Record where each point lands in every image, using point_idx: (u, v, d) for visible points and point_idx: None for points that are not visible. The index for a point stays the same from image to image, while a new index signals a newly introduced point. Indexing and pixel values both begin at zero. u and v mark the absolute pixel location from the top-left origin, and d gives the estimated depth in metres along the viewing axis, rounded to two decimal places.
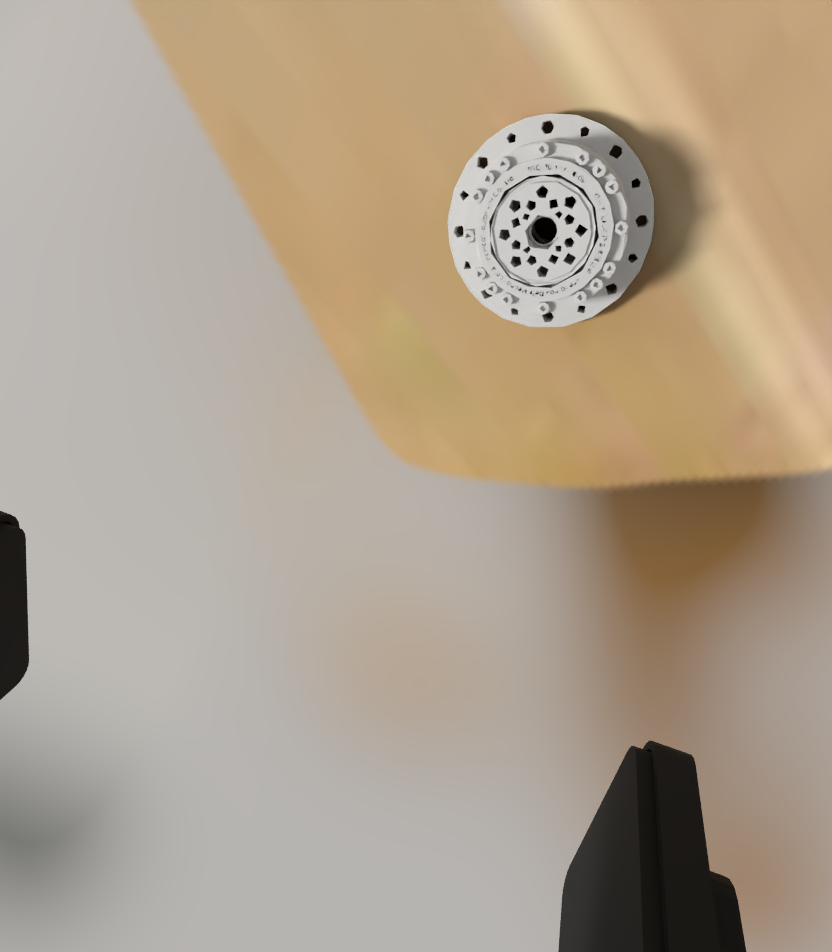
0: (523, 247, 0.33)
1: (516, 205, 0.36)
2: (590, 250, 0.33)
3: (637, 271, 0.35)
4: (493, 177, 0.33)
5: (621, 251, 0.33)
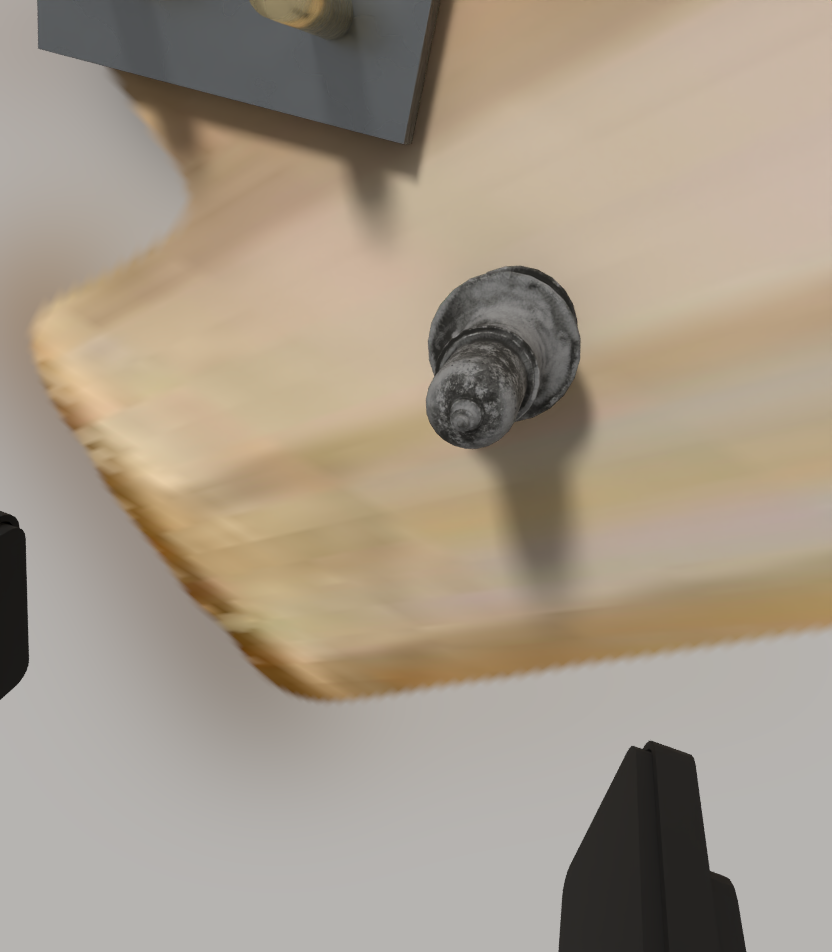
0: None
1: None
2: None
3: None
4: None
5: None
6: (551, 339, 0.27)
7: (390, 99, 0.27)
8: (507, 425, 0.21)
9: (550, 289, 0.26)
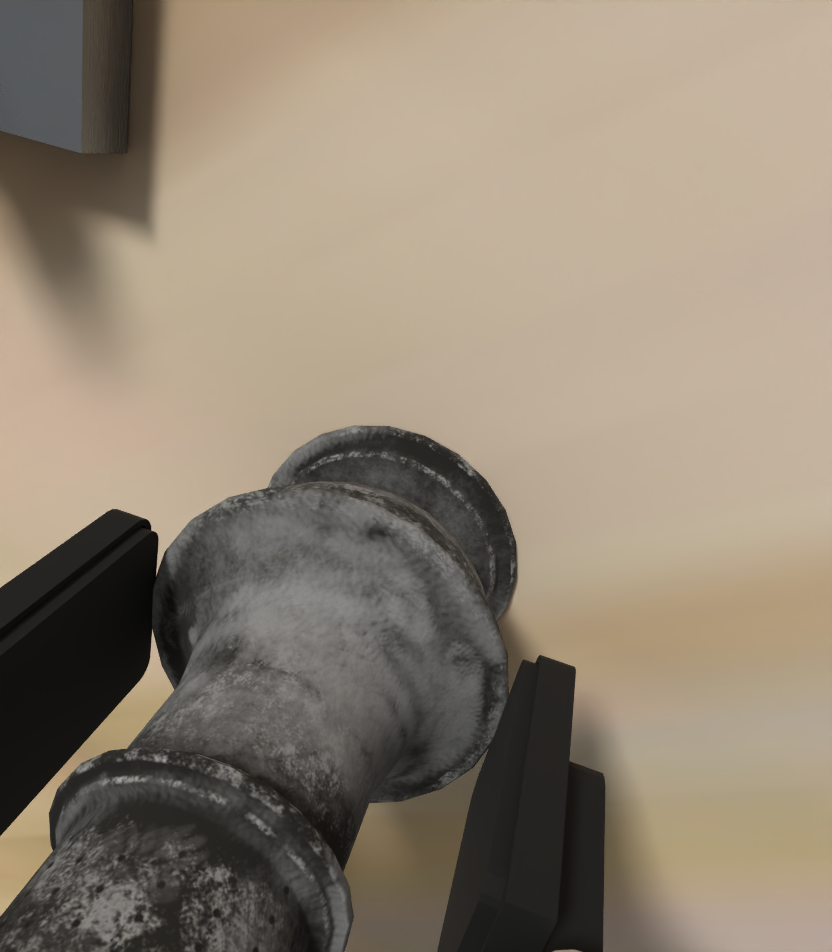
0: None
1: None
2: None
3: None
4: None
5: None
6: (428, 668, 0.10)
7: (33, 41, 0.11)
8: None
9: (423, 542, 0.10)
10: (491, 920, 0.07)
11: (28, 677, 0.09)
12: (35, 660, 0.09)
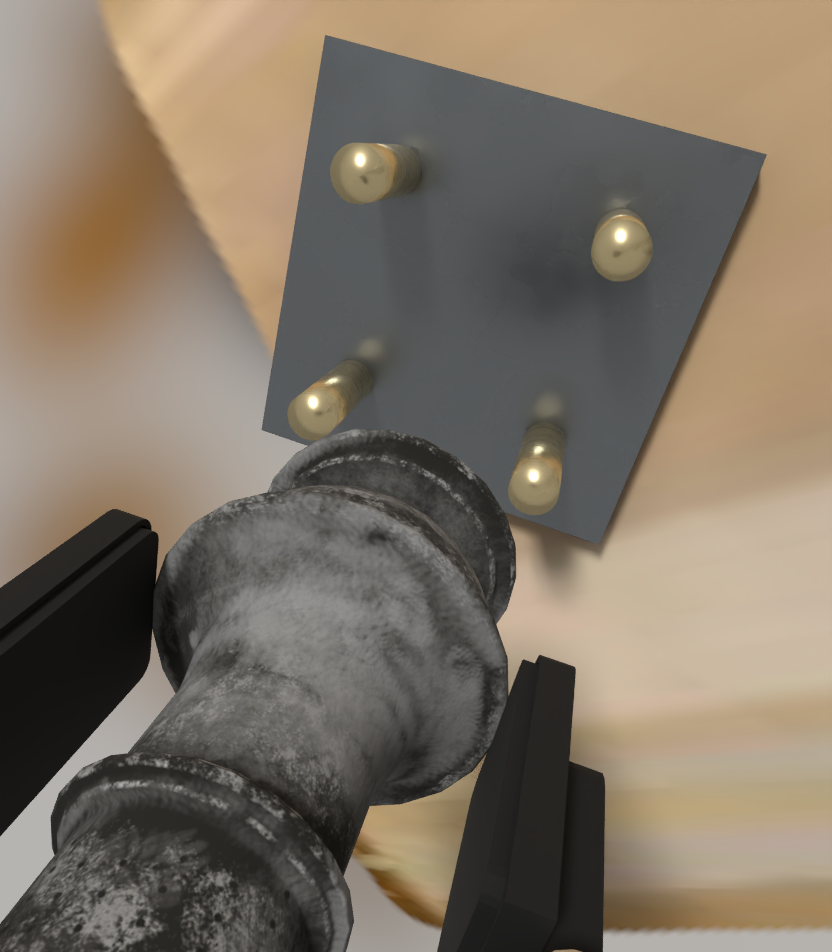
0: None
1: None
2: None
3: None
4: None
5: None
6: (428, 671, 0.10)
7: (591, 511, 0.31)
8: None
9: (423, 546, 0.10)
10: (491, 920, 0.07)
11: (28, 677, 0.09)
12: (35, 660, 0.09)
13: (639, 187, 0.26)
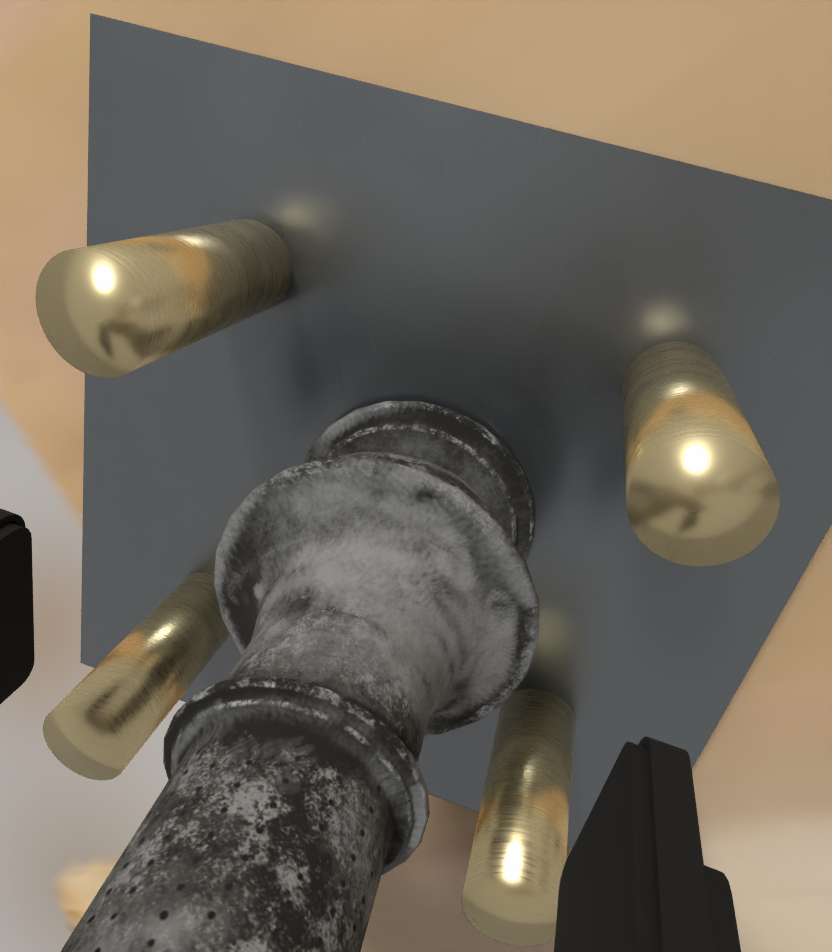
0: None
1: None
2: None
3: None
4: None
5: None
6: (471, 612, 0.12)
7: None
8: None
9: (466, 502, 0.11)
10: None
11: None
12: None
13: (714, 302, 0.13)
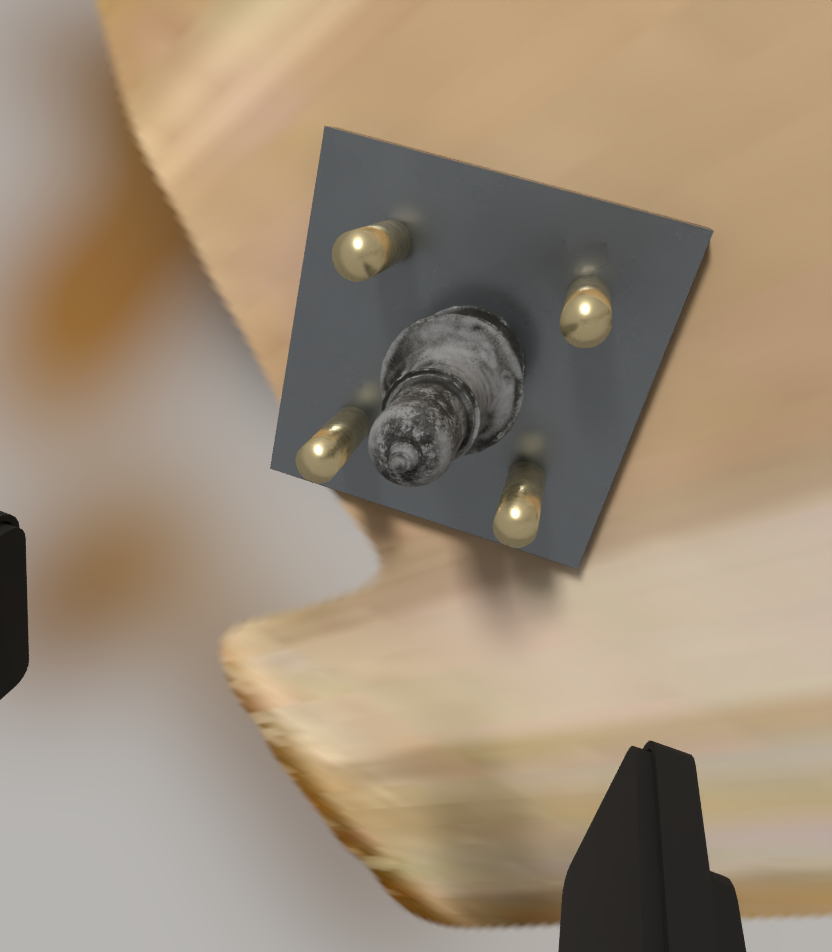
0: None
1: None
2: None
3: None
4: None
5: None
6: (495, 378, 0.28)
7: (570, 539, 0.34)
8: (444, 465, 0.23)
9: (493, 330, 0.28)
10: None
11: None
12: None
13: (604, 257, 0.29)
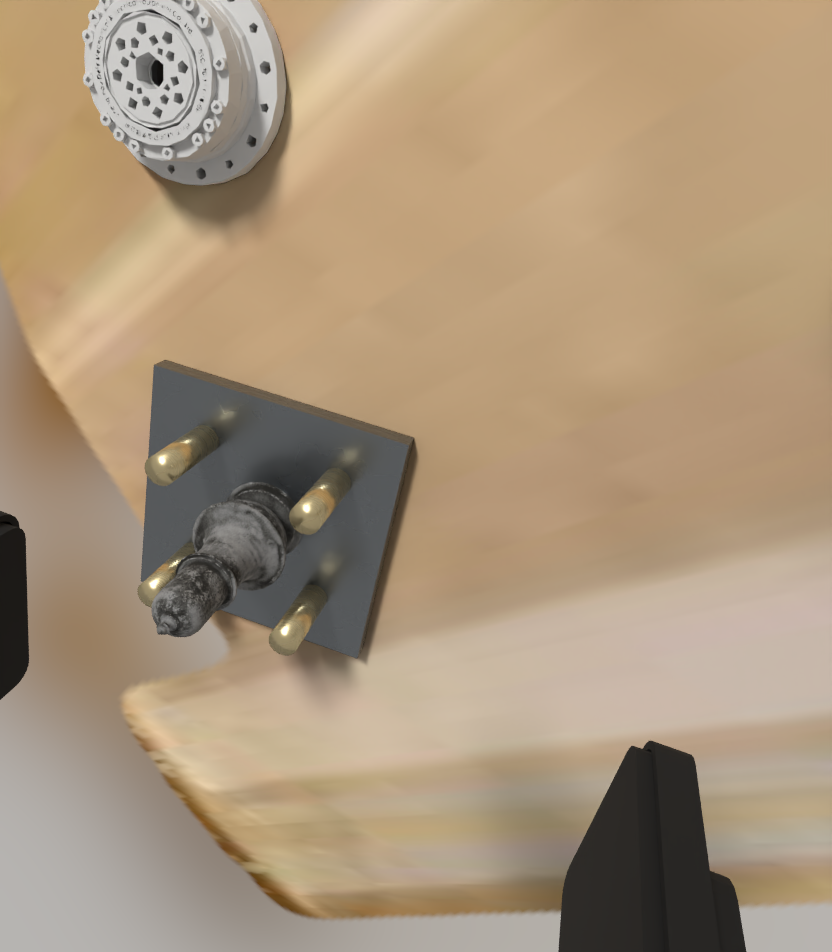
0: (134, 51, 0.33)
1: None
2: (144, 124, 0.34)
3: (161, 175, 0.38)
4: (190, 9, 0.32)
5: (152, 156, 0.35)
6: (262, 545, 0.41)
7: (349, 638, 0.47)
8: (197, 626, 0.36)
9: (259, 514, 0.41)
10: None
11: None
12: None
13: (343, 457, 0.42)
